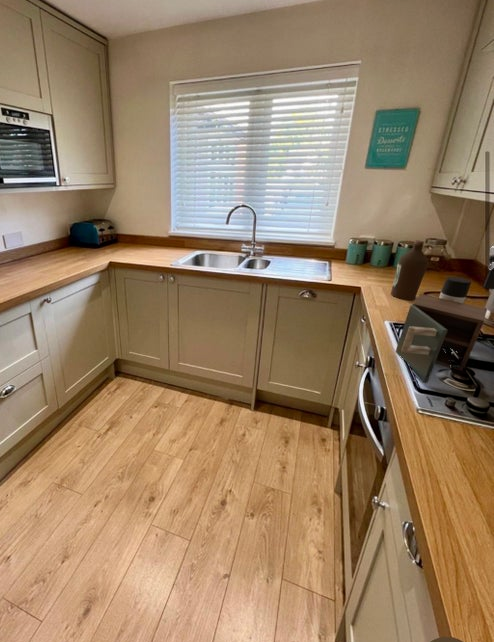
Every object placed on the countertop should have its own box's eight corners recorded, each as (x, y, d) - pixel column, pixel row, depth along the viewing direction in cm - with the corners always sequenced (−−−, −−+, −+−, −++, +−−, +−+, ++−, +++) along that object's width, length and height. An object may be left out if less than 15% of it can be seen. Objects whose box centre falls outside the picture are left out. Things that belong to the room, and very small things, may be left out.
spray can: (453, 340, 110) (476, 284, 102) (429, 336, 112) (450, 280, 104) (446, 332, 116) (467, 277, 108) (424, 328, 118) (443, 275, 110)
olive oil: (416, 295, 150) (434, 240, 140) (416, 302, 141) (435, 245, 132) (389, 290, 155) (405, 237, 145) (388, 297, 147) (404, 241, 137)
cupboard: (462, 372, 92) (484, 320, 86) (397, 351, 102) (413, 303, 96) (465, 356, 101) (485, 308, 94) (405, 338, 110) (420, 293, 104)
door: (397, 380, 88) (416, 327, 82) (373, 349, 102) (387, 303, 96) (427, 383, 87) (447, 330, 81) (398, 351, 101) (414, 305, 95)
